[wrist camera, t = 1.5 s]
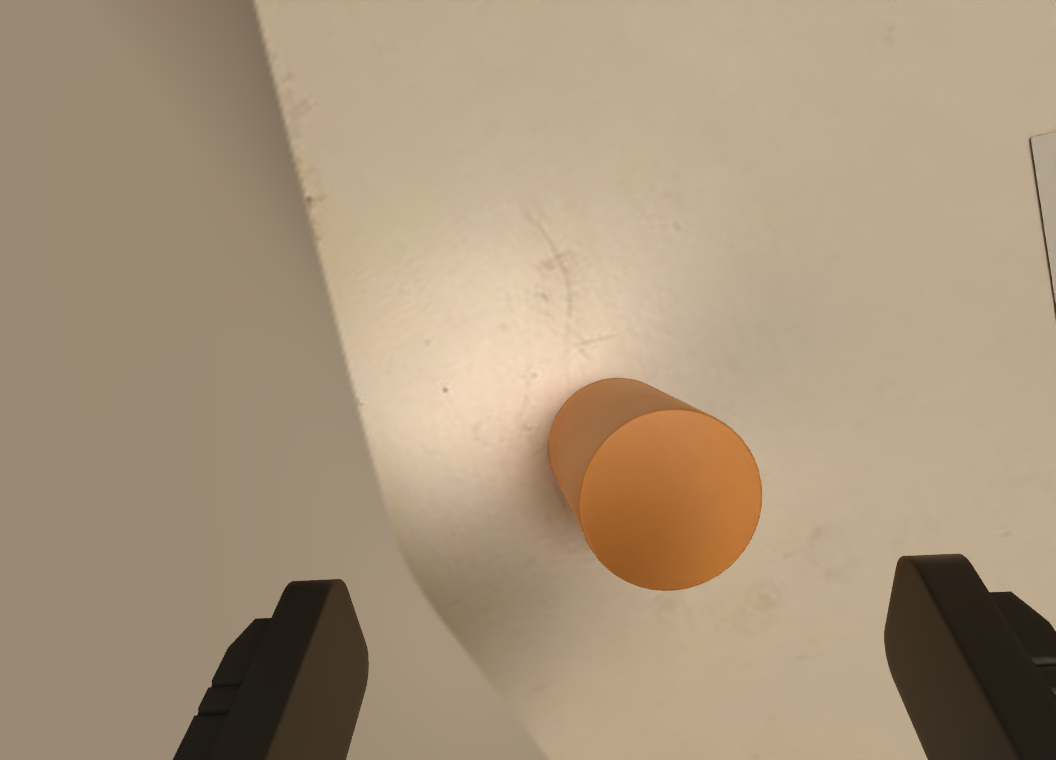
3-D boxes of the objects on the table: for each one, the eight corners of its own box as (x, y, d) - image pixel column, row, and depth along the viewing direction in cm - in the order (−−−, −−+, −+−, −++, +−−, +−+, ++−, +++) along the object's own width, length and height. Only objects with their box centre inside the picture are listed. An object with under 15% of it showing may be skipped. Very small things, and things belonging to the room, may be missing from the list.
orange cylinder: (535, 500, 28) (561, 575, 20) (564, 365, 27) (601, 392, 20) (667, 523, 28) (739, 605, 21) (697, 392, 28) (782, 428, 20)
